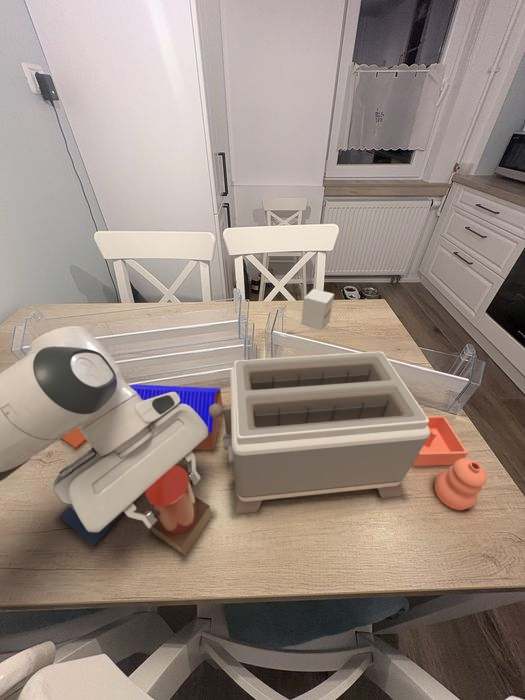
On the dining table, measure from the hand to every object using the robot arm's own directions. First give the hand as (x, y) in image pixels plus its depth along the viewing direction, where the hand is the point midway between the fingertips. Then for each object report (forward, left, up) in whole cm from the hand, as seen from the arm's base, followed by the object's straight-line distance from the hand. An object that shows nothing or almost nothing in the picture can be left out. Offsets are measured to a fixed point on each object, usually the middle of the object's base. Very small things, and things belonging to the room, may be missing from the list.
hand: (175, 501), depth 44 cm
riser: (0, +1, -9) cm, 9 cm away
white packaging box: (+67, +2, -10) cm, 68 cm away
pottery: (+33, -37, -10) cm, 51 cm away
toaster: (+22, -12, -10) cm, 27 cm away
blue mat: (-5, +16, -9) cm, 19 cm away
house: (+15, +16, -10) cm, 24 cm away
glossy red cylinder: (0, +1, -5) cm, 5 cm away
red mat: (+5, +35, -9) cm, 36 cm away
